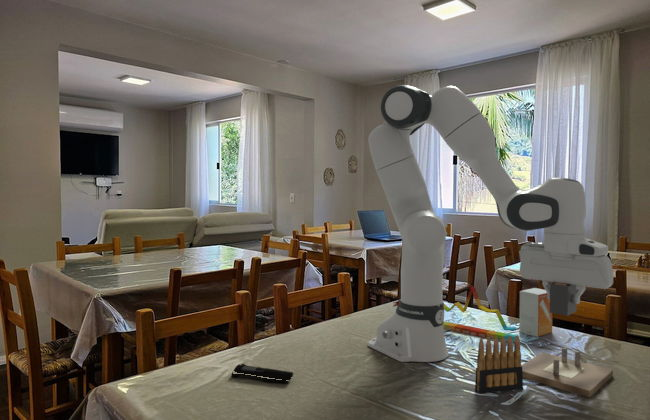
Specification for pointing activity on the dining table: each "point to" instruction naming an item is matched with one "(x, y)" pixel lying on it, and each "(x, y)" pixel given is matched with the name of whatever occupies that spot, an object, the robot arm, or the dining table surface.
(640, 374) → the dining table surface
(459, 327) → the chart
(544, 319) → the small box
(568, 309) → the plug block
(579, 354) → the board
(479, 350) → the ammunition clip
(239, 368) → the electric trimmer
